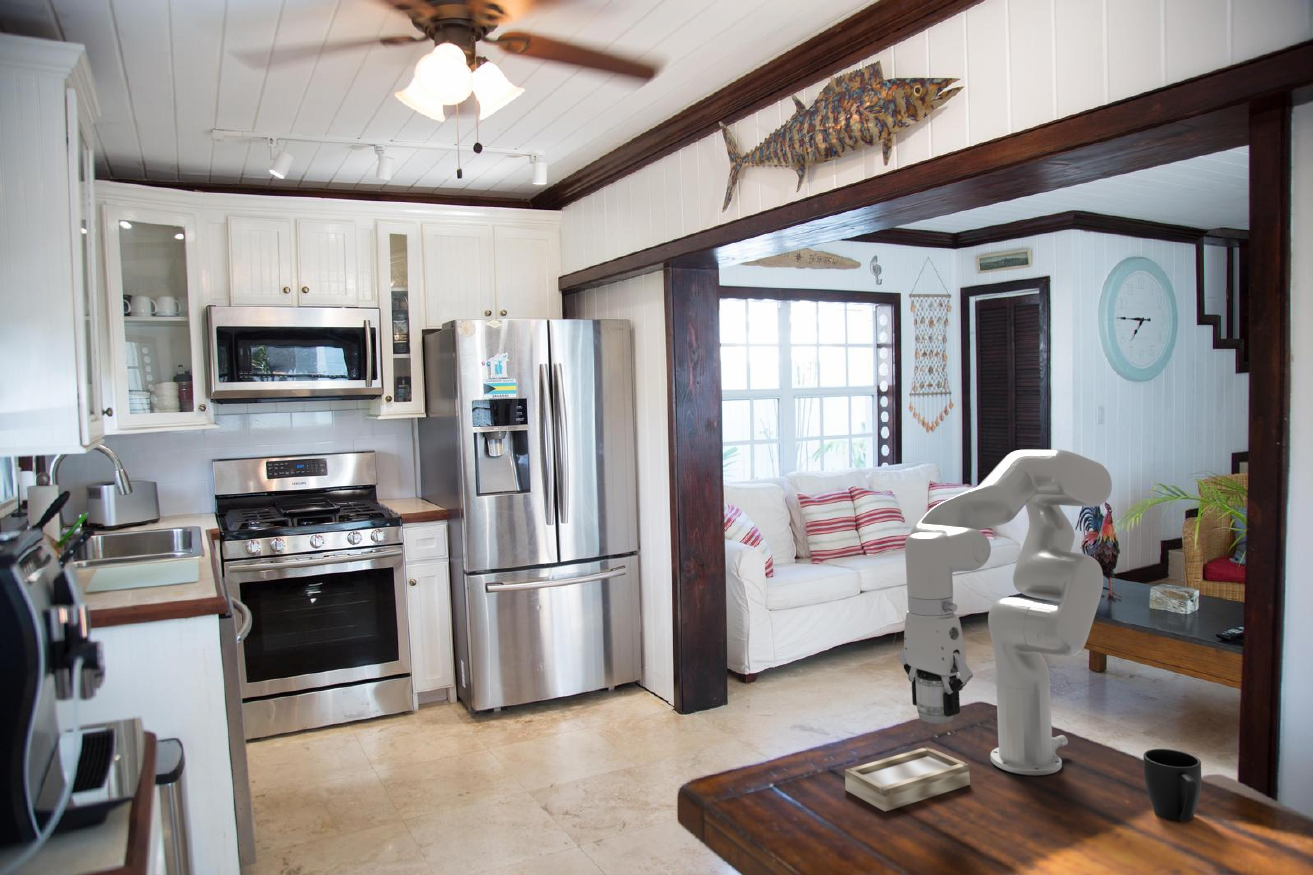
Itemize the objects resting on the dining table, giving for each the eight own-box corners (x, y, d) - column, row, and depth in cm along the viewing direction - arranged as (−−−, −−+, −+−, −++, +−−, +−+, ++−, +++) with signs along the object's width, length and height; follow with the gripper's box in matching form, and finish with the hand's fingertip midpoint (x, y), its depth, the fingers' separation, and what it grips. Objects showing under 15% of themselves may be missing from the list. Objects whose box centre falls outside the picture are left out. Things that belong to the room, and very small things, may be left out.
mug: (1163, 836, 139) (1161, 776, 138) (1138, 803, 150) (1136, 747, 150) (1221, 839, 137) (1219, 778, 137) (1191, 805, 149) (1189, 749, 149)
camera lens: (955, 725, 148) (953, 679, 148) (916, 723, 150) (914, 677, 150) (955, 712, 154) (953, 667, 154) (917, 710, 156) (915, 666, 156)
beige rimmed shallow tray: (928, 765, 170) (927, 746, 170) (969, 784, 161) (969, 764, 161) (845, 790, 161) (844, 770, 161) (885, 811, 152) (884, 790, 151)
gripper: (987, 610, 146) (992, 717, 146) (908, 594, 161) (913, 692, 161) (955, 618, 142) (961, 728, 143) (878, 601, 157) (883, 701, 158)
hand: (935, 708), depth 152 cm, fingers closed on camera lens, 6 cm apart
